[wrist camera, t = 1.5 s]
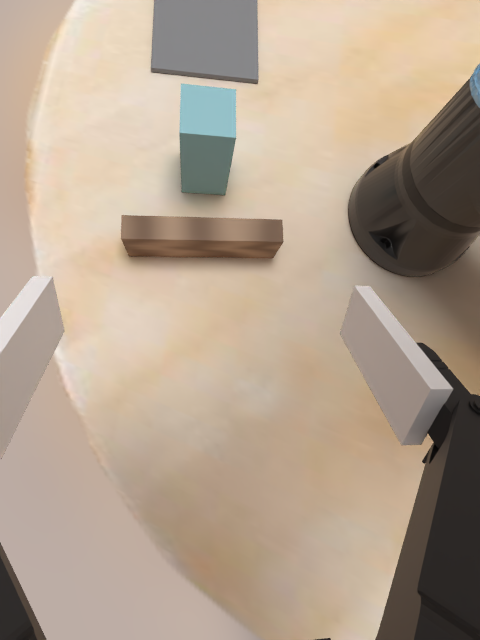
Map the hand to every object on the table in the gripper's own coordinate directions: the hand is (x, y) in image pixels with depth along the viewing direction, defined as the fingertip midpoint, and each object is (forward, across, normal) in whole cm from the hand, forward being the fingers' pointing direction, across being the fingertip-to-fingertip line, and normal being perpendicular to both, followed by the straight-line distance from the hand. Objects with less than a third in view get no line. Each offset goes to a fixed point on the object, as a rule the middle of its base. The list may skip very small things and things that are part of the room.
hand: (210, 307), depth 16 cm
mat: (+47, +1, +14) cm, 49 cm away
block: (+31, 0, -1) cm, 31 cm away
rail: (+25, 0, -8) cm, 26 cm away
